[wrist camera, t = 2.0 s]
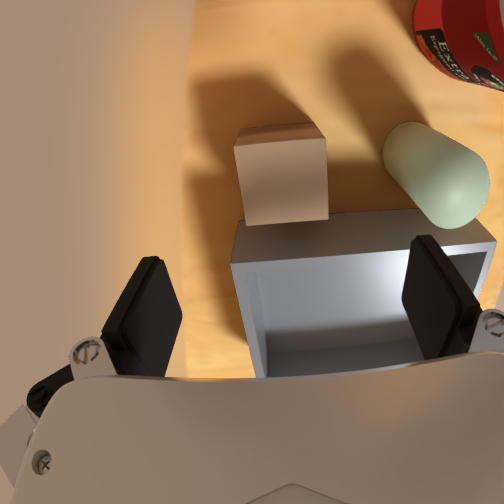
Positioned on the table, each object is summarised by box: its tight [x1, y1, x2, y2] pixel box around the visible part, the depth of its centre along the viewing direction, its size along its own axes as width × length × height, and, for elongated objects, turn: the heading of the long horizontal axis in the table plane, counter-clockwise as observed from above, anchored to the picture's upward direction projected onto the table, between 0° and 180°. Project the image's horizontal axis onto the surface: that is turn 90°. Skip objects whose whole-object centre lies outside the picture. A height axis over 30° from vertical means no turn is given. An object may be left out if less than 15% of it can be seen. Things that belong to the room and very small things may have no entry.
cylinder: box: [383, 121, 490, 229], centre depth 17 cm, size 5×5×7 cm
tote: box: [230, 208, 497, 378], centre depth 25 cm, size 17×20×6 cm
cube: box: [233, 122, 329, 226], centre depth 19 cm, size 5×5×5 cm
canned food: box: [412, 0, 504, 92], centre depth 9 cm, size 8×8×11 cm
